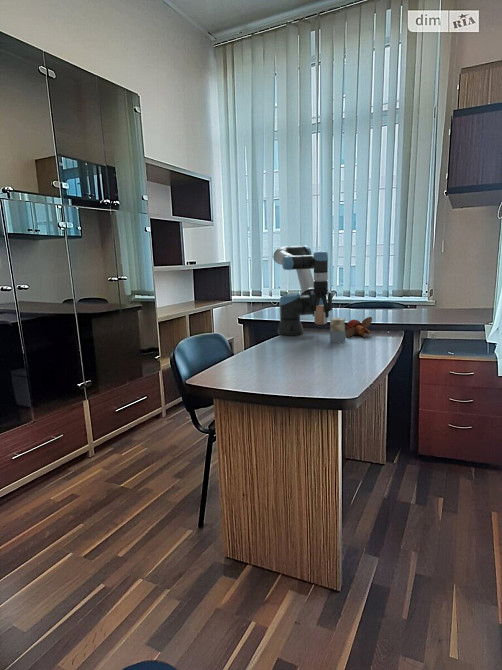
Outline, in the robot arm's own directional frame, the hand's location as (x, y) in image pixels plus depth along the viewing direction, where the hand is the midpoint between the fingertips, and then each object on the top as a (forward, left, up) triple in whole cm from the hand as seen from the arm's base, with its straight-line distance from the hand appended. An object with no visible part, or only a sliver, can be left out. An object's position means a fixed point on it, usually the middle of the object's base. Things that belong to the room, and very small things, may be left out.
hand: (320, 322), depth 223 cm
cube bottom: (+12, -4, -8) cm, 16 cm away
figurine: (+16, +14, -9) cm, 23 cm away
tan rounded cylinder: (0, 0, 0) cm, 0 cm away
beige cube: (+12, -4, -2) cm, 13 cm away
